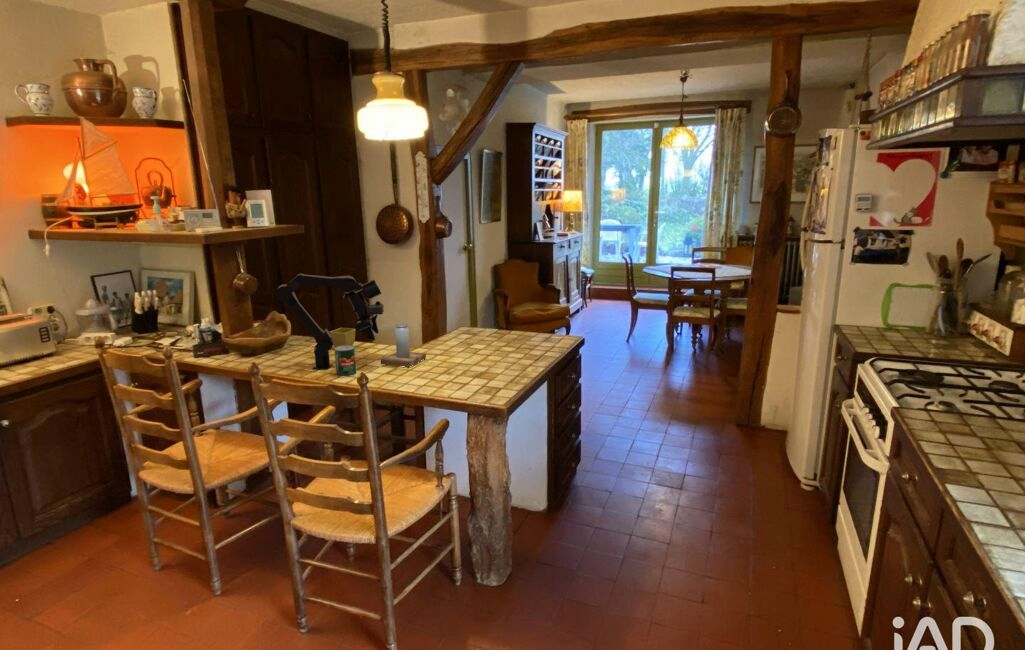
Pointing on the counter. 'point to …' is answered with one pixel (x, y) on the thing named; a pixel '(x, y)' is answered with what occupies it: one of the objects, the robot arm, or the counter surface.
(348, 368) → the canned tomato
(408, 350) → the grey can
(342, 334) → the flower pot
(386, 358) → the board
